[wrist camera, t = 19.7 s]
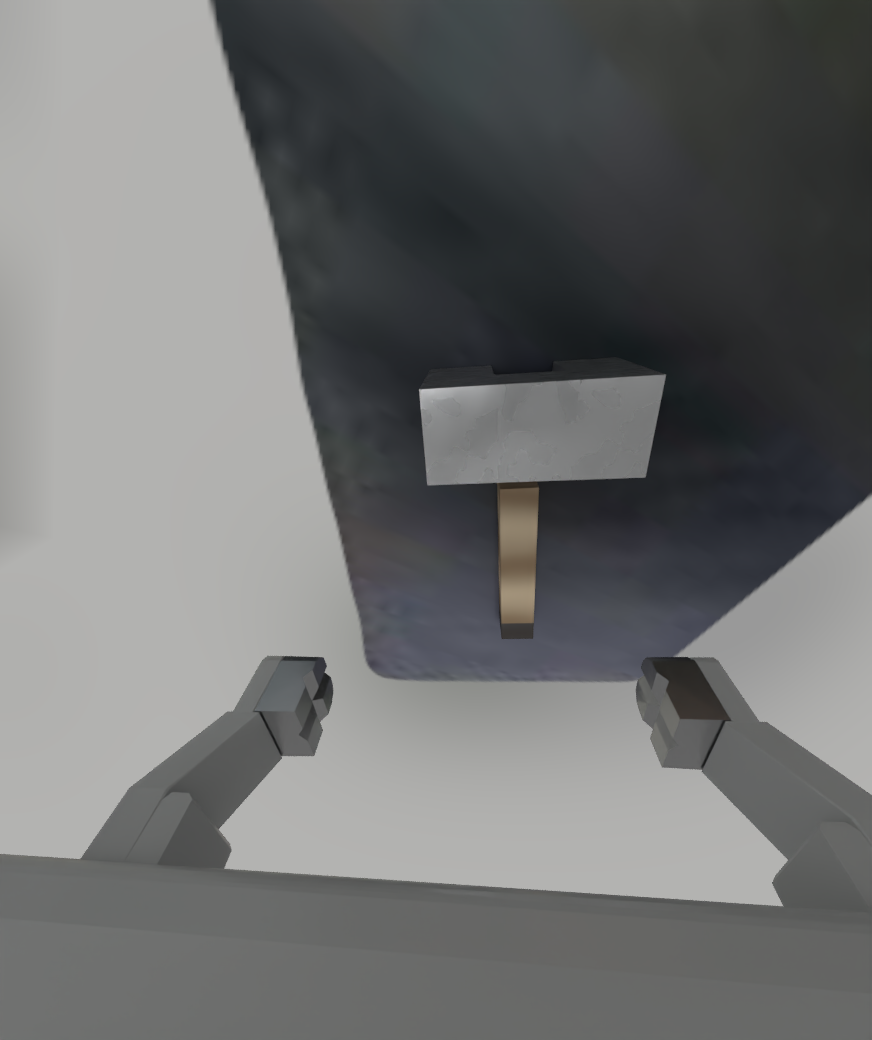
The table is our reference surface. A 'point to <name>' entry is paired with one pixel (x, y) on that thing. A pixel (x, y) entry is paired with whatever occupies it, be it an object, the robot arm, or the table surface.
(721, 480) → the table surface
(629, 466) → the housing
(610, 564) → the table surface
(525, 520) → the rod
